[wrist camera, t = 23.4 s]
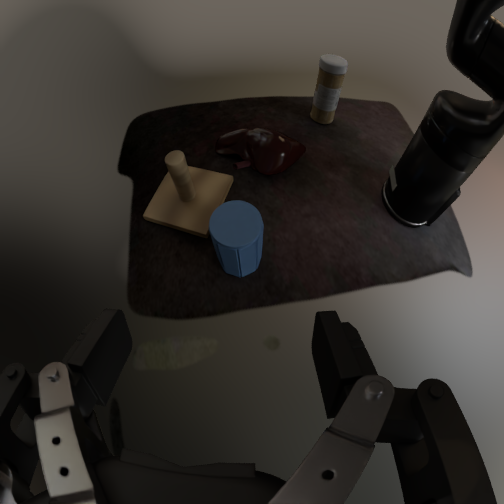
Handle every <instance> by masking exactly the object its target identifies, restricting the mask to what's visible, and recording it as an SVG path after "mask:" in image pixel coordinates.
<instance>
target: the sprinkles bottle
mask: <svg viewBox="0 0 504 504" xmlns="http://www.w3.org/2000/svg"><path fill="white" fill-rule="evenodd" d="M347 67H348V62H347V61H346V60H345V59H343V58H342V57H340V56H337V55H333V54H325V55H322V56H321V57H320V63H319V75H318V79H317V84H316V89H315V93H314V99H313V106H312V111H311V113H310V115H311V118H312V119H313V120H314V121H316V122H318V123H321V124H329V123H331V122H332V121H333V119H334V113H335V109H336V107H337V103H338V100H339V96H340V92H341V88H342V83H343V79H344V75H345V73H346V71H347Z"/></svg>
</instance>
